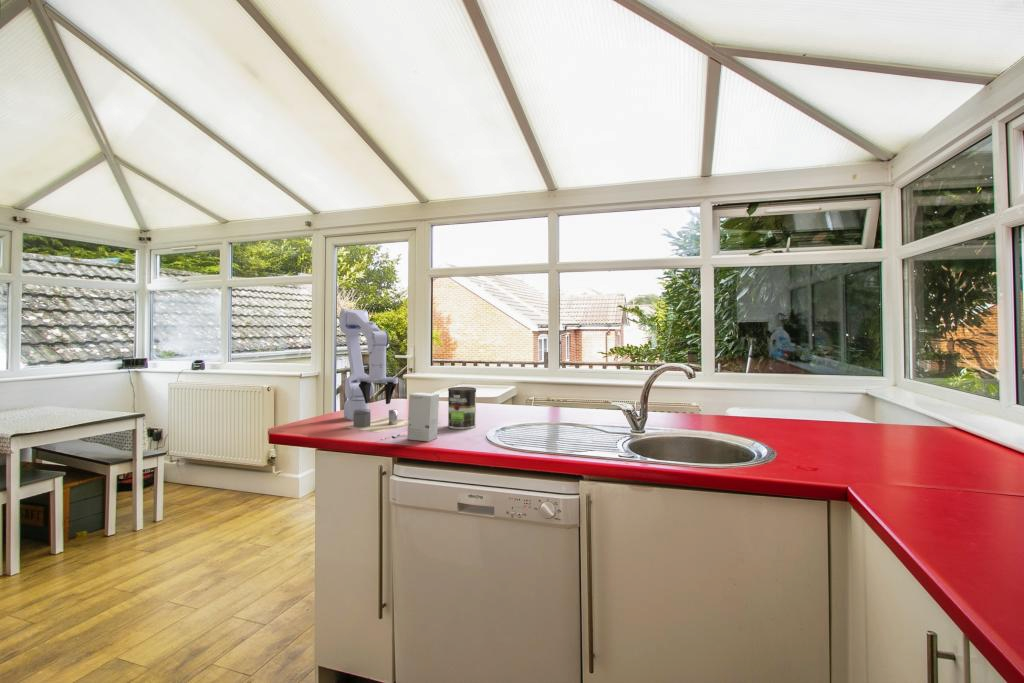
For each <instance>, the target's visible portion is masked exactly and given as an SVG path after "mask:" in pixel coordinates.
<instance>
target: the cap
mask: <svg viewBox="0 0 1024 683" xmlns="http://www.w3.org/2000/svg"><path fill="white" fill-rule="evenodd" d="M371 415H372V414H371V409H370V408H369V409H357V410H354V420H353V424H354V427H368V426H370V425H371V420H372V419H371V418H372V417H371Z"/></svg>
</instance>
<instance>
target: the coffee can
mask: <svg viewBox="0 0 1024 683" xmlns="http://www.w3.org/2000/svg"><path fill="white" fill-rule="evenodd" d="M447 391H448V394H447V395H448V402H447V403H448V406H447V407H448V408H447V409H448V410H447V411H448V412H447V413H448V415H447V416H448V417H447V419H448V422H447V424H448V425H447V427H448V428H449V429H452V430H468V429H469V430H470V429H474V428H476V427H477V424H476V420H477V419H476V418H477V417H476V415H477V413H476V412H477V410H476V409H477V408H476V406H477V405H476V404H477V401H476V400H477V388H476V387H469V386H456V387H455V386H453V387H452V386H451V387H449V388H448V389H447Z"/></svg>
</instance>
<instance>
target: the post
mask: <svg viewBox="0 0 1024 683" xmlns="http://www.w3.org/2000/svg"><path fill="white" fill-rule="evenodd" d="M388 418H389V425H396V424H397V419H398V409H389V410H388Z"/></svg>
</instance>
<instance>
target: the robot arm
mask: <svg viewBox="0 0 1024 683" xmlns="http://www.w3.org/2000/svg"><path fill="white" fill-rule="evenodd" d="M338 323H339V328H340V332H341V333H343V334H344V336H345V342H346V348H347V355H348V356H347V357H348V362H349V369H350V375H349V376H348V377H347V378H346V379H345V380H344V396H345V398H346V400H345V402H344V403H343V419H345V420H349V421H354V410H357V409H370V402H371V398H372V397H373V396H374V394H375V385H374V384H377V383H378V384H384V386H383V387H384V391H385V404H386V405H389V404H391V401H392V396H393V393H394V391H395V388H396V387H397V384H398V383H399V377H393V376H387V347H388V346H389V343H390V336H389V332H388V330H382V329H380V328H379V326H377V324H376V323H375V322H374V321H370V320H369V313H368V311H367V310H366V309H345V308H341V310H340V311H339V316H338ZM360 334H362V335H363V336H364V338H365V339H366V340H365V342H366V345H367V352H368V357H369V365H368V367H369V373H368V374H367V373H366V372H365V369H364V364H363V363H364V362H363V356H362V351H361V343H360V338H359V337H360V336H359V335H360Z"/></svg>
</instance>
